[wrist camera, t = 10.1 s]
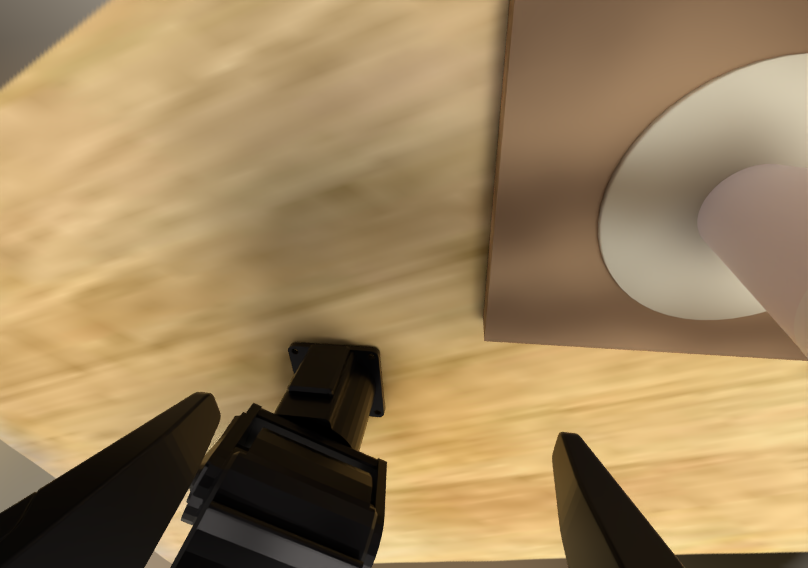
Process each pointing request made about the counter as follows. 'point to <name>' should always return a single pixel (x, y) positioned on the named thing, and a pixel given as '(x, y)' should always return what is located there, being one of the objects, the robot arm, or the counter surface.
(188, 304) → the counter surface
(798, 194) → the smoothie
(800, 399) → the counter surface
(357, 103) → the counter surface
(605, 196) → the walnut base
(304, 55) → the counter surface
